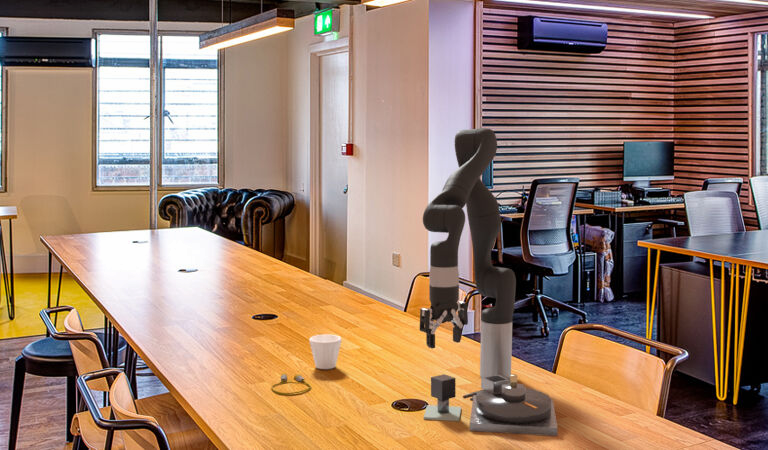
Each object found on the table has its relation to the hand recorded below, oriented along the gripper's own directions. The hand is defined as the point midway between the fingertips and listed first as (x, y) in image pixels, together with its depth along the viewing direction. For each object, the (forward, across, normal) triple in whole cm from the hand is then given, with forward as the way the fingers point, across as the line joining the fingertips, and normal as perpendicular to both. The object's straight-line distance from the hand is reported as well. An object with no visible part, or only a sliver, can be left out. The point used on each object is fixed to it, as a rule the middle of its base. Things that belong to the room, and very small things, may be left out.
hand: (444, 344), depth 201 cm
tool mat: (+18, 0, 0) cm, 18 cm away
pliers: (+19, -23, -5) cm, 30 cm away
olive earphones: (+19, +21, -43) cm, 51 cm away
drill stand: (+19, -12, +13) cm, 26 cm away
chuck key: (+18, 0, 0) cm, 18 cm away
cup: (+19, +3, -53) cm, 56 cm away
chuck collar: (+16, -12, +12) cm, 24 cm away
